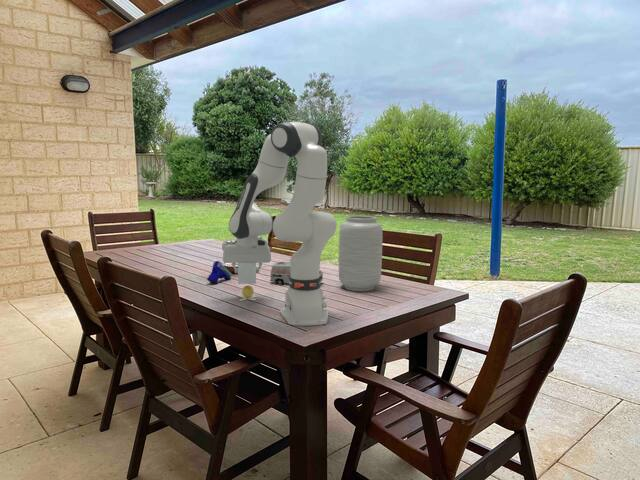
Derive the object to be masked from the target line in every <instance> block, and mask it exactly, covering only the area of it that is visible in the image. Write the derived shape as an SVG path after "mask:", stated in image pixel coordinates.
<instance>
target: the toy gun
mask: <svg viewBox="0 0 640 480" xmlns="http://www.w3.org/2000/svg"><path fill="white" fill-rule="evenodd" d="M211 266H212V268H211V272H210V274H209V275H208V277H207V278H206V280H207V281H209V282H210V283H211V284H214V283H215V285H218V284H219V280H220V279H221V280H222V279H224V280H229V281H231V277H232V275H233V273H232V272H231V271H230V270H229V269H228V268H227V267H225V266H224V264H222V261H219V260H216V261H214V262H213V263H212V265H211Z"/></svg>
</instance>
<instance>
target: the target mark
mask: <svg viewBox="0 0 640 480" xmlns="http://www.w3.org/2000/svg"><path fill="white" fill-rule="evenodd" d="M256 298H257V295H252V296H251V297H245V296H244V295H239V301H240V302H243V301H246V300H250V301H253V302H254V301H257V300H258V299H256Z"/></svg>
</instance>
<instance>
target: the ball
mask: <svg viewBox="0 0 640 480" xmlns="http://www.w3.org/2000/svg"><path fill="white" fill-rule="evenodd" d="M241 295H242V296H245V297H251V296H254V287H252V286H251V285H245V286H243V288H242V290H241Z"/></svg>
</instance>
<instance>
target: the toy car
mask: <svg viewBox="0 0 640 480" xmlns="http://www.w3.org/2000/svg"><path fill="white" fill-rule="evenodd" d="M323 276H324V272H323V271H322V270H319V277H320V280H321V282H322V281H323V279H324V277H323ZM289 277H290V261H277V262H275V263H274V264H272V265H271V269H270V279H269V281H270V282H271V283H272V282H274V283H275V284H276V285H280V286H284V285H285V283H287V284H289Z"/></svg>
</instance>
